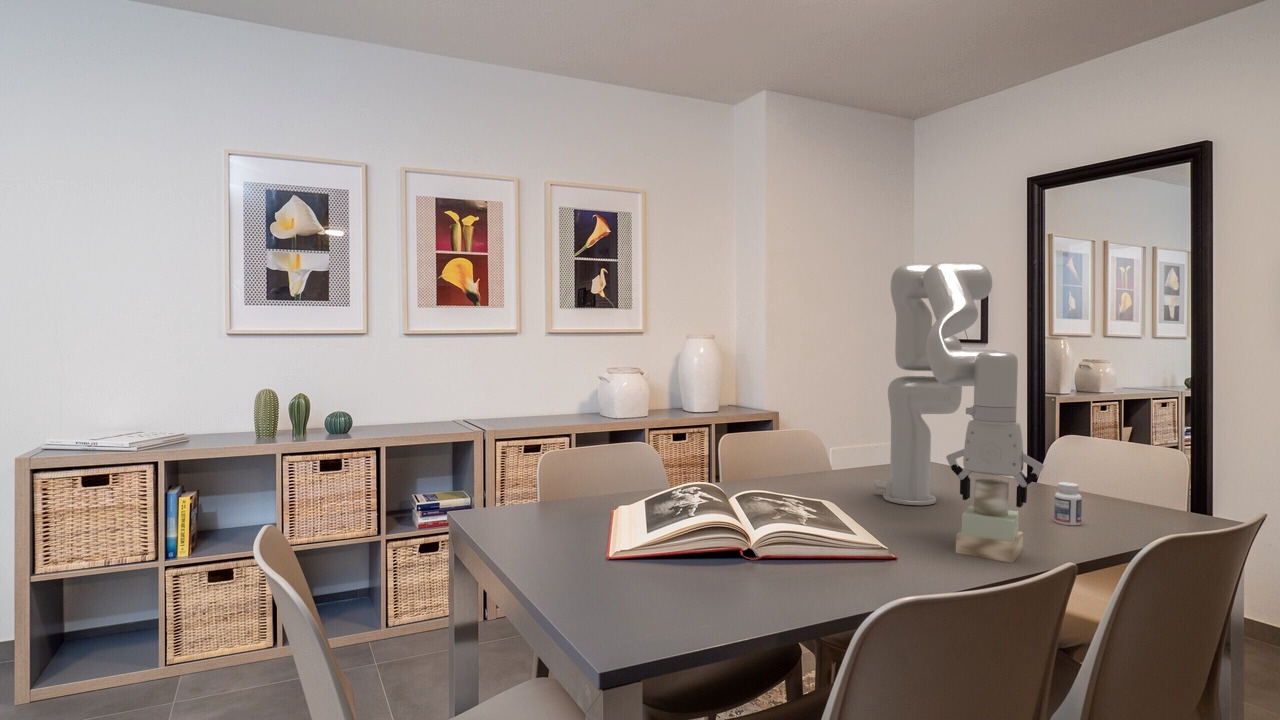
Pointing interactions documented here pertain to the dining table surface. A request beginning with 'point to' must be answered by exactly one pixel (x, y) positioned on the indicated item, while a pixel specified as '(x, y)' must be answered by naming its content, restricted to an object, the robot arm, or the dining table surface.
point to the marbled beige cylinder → (991, 497)
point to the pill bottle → (1068, 504)
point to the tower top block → (990, 525)
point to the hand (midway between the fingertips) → (992, 502)
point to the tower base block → (989, 547)
